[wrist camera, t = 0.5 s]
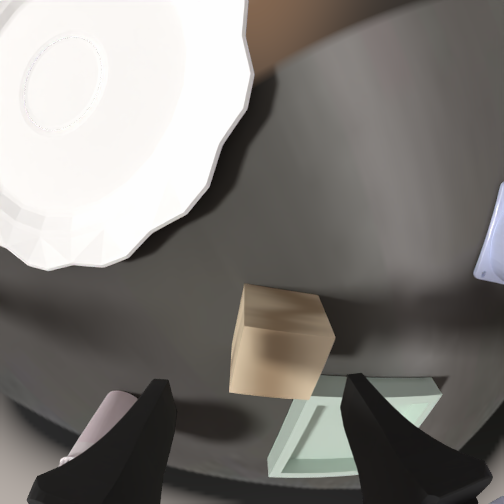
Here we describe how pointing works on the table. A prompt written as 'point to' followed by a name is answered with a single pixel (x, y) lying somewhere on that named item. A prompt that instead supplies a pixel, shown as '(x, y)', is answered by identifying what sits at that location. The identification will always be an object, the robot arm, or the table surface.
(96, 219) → the plate
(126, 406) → the smoothie
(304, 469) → the green tray
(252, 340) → the maple cube
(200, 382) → the table surface
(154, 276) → the table surface
